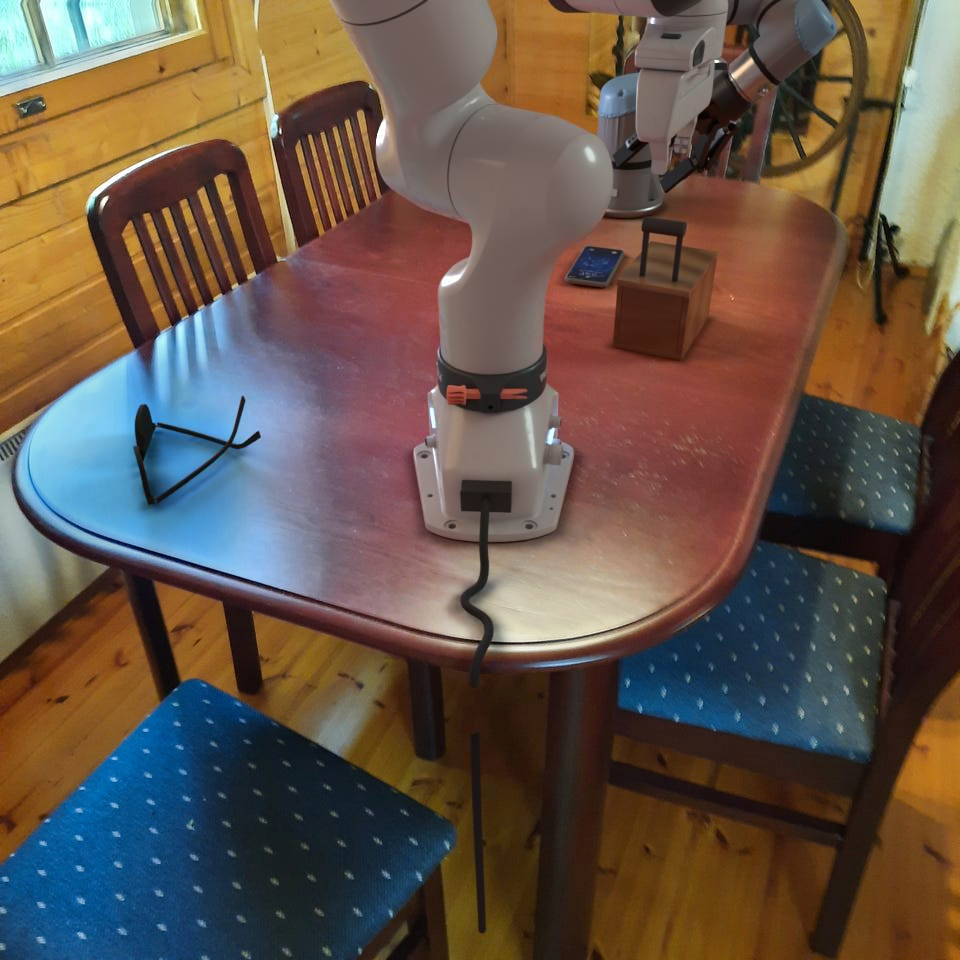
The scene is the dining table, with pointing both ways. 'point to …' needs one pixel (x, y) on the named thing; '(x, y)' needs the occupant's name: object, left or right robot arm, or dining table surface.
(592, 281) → the smartphone
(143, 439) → the sunglasses
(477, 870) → the left robot arm
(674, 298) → the chest
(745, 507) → the dining table surface
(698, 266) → the lid
